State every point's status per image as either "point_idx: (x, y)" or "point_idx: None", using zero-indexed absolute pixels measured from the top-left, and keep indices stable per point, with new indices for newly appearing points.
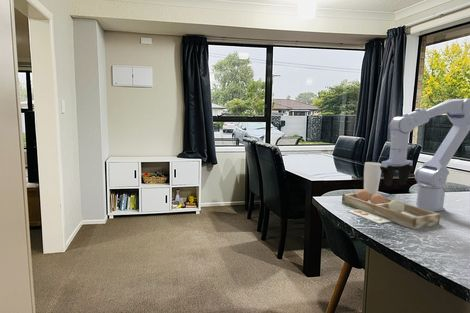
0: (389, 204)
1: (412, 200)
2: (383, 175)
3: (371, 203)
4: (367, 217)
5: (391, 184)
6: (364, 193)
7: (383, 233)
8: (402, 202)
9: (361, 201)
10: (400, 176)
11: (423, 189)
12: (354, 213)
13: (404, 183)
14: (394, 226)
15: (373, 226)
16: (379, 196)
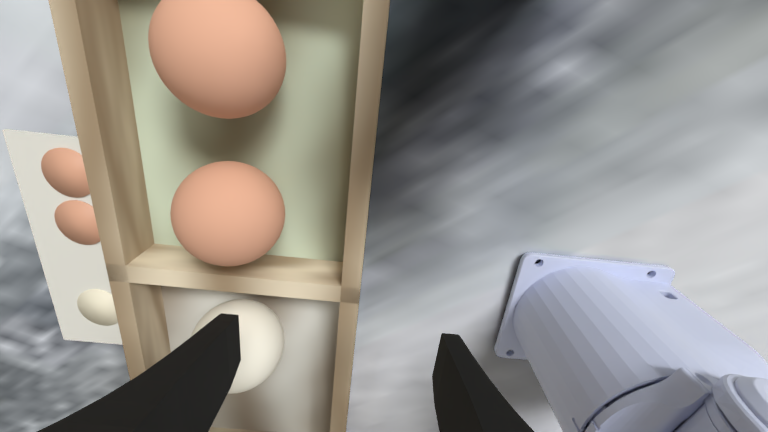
0: (195, 328)
1: (731, 166)
2: (119, 391)
3: (114, 243)
4: (58, 269)
5: (231, 380)
6: (176, 94)
7: (8, 398)
8: (240, 392)
9: (88, 161)
10: (461, 412)
11: (569, 417)
12: (21, 191)
13: (436, 394)
14: (121, 377)
15: (17, 343)
16: (194, 255)
